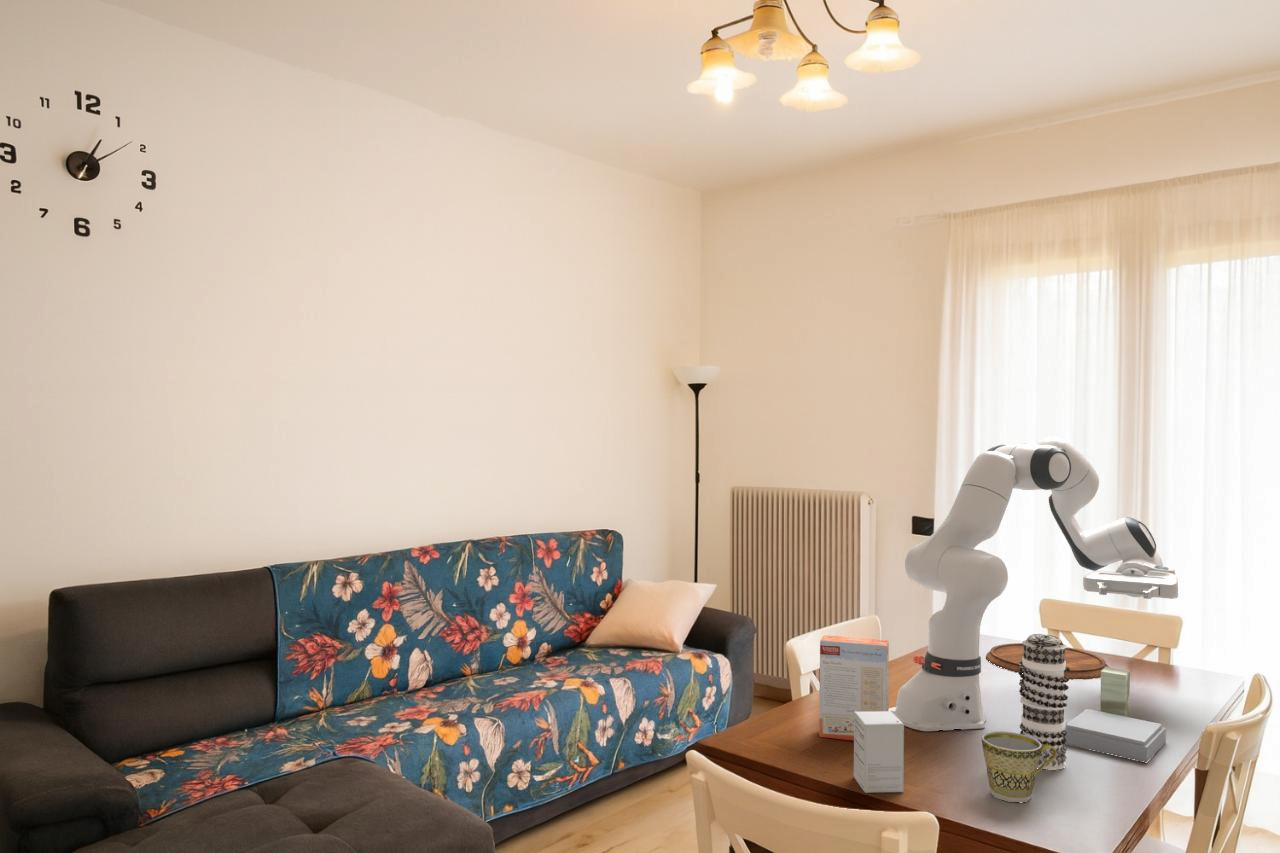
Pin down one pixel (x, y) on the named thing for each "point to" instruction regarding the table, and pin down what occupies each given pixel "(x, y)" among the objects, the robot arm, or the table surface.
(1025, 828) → the table surface
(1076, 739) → the plinth
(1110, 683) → the tall block
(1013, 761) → the ceramic cup
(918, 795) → the table surface
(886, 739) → the supplement box
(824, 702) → the cracker box
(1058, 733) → the decorative candle
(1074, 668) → the cutting board
